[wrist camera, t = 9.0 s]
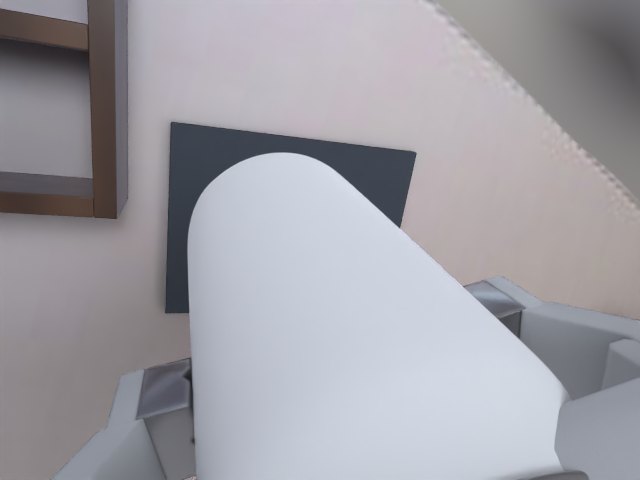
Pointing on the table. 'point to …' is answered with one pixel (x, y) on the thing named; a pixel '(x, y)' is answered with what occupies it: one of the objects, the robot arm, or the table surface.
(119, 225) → the table surface
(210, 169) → the mat
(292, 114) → the table surface
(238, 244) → the can
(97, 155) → the crate
